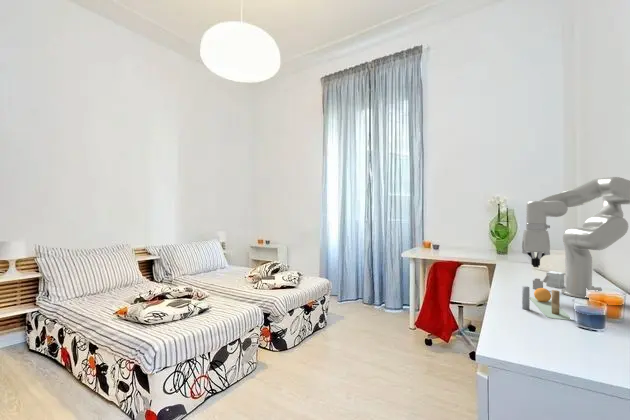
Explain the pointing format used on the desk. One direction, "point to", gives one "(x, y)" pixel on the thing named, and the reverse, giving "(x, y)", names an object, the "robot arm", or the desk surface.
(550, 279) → the skincare box
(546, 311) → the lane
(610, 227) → the robot arm
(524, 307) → the grey pin
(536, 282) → the grey stepped block
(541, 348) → the desk surface
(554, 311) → the maple pin
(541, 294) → the ball
